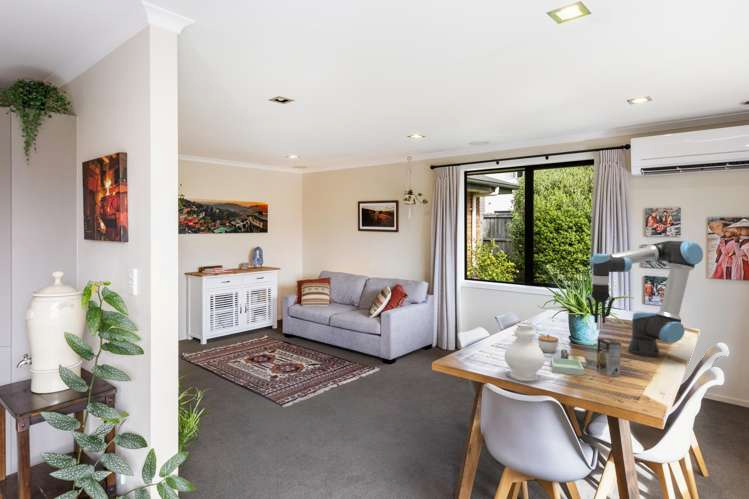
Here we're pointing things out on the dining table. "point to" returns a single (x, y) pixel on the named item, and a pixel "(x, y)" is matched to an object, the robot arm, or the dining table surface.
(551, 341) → the lidded jar
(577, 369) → the tray
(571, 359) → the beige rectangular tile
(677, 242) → the robot arm
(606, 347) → the coffee box
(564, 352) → the bench dogs
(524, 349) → the decorative vase
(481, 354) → the dining table surface
